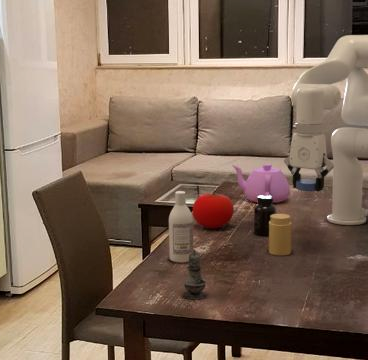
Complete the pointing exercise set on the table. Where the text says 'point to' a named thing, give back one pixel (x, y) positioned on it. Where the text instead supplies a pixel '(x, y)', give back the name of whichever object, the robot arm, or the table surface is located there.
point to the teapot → (264, 183)
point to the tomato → (213, 210)
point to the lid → (306, 184)
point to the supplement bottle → (263, 215)
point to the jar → (280, 234)
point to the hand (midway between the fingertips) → (307, 188)
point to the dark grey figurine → (194, 278)
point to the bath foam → (180, 230)
